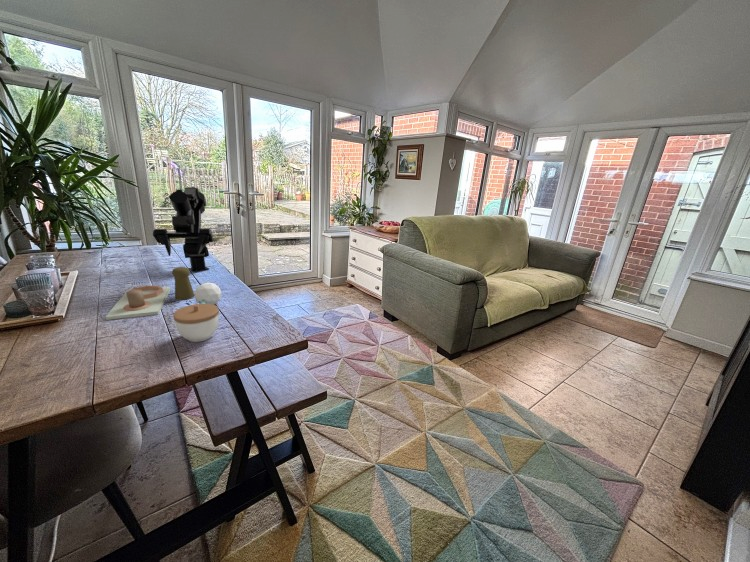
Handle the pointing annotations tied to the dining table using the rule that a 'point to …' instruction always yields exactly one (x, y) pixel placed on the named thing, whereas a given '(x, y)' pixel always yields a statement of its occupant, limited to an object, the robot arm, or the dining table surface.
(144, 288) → the pin board
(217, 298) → the faceted white bauble
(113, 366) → the dining table surface
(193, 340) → the lidded jar
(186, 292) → the cork
